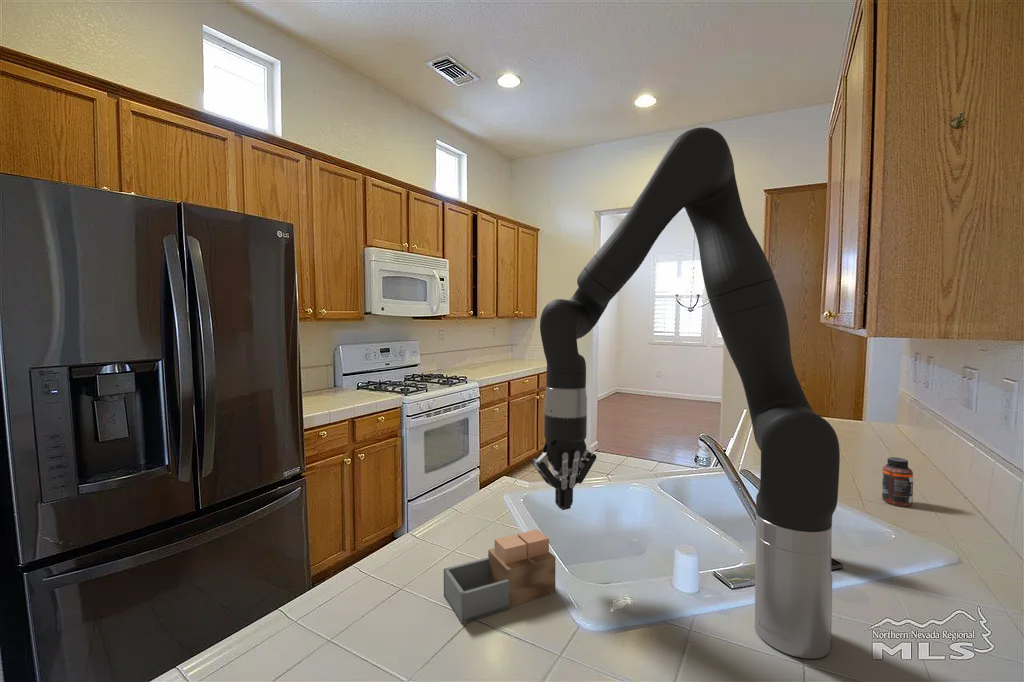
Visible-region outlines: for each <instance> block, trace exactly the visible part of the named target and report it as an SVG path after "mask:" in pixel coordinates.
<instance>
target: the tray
mask: <svg viewBox="0 0 1024 682" xmlns="http://www.w3.org/2000/svg"><path fill="white" fill-rule="evenodd" d="M443 597H444V598H445V600H446V602H447V603H448V605H449V606H450V607H451V610H452V611H453V612H454V615H456V617H457V619H458V621H459V623H460V624H461V625H463V624H467V623H471V622H472V621H476V620H479V619H483V618H485V617H486V618H487V617H489V616H492V615H495V614H497V613H501V612H505V611H507V610H510V607H509V580H508V579H506V580H503V581H499V582H496V583H492V584H491V583H490V582H489V559H488V557H485V558H484V557H483V558H481V559H478V560H477V559H476V560H472V561H469V562H464V563H460V564H457V565H452V566H449V567H445V568H443Z"/></svg>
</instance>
